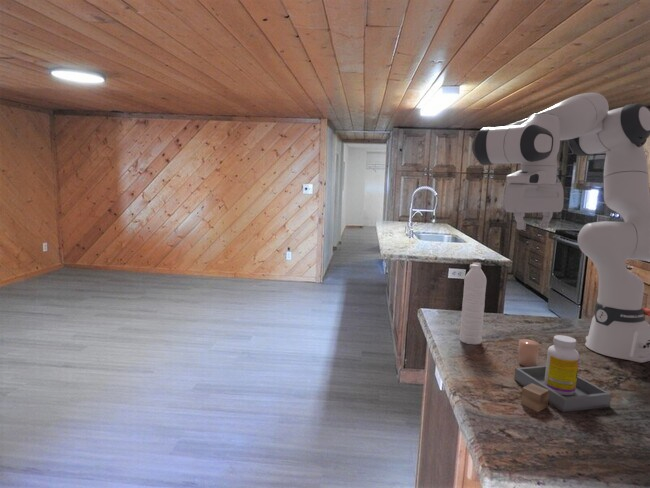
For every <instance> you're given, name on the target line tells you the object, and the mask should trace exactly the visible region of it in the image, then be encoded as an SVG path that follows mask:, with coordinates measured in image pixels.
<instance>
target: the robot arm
mask: <svg viewBox="0 0 650 488" xmlns="http://www.w3.org/2000/svg"><path fill="white" fill-rule="evenodd" d="M609 108H610V106H609V102H608V100H607V98H606V97H605V96H604V95H602V94H601V93H600V92H599V93H598V92H585V93H579V94H577V95H573V96H571V97H568V98H566V99H564V100H562V101H560V102H557V103H556V104H553V105H552V106H549V107H548V108H546V109H543V110H542V111H541V110H540V111H539V112H537V113H533V114H530V115H529V116H528V117H527V118H523V119H521V120H518V121H515V122H513V123H509V124H507V125H504V126H495V127H494V126H487V127H486V126H485V127H482V128H481V129H480V130H479V131H478V132H477V133H476V134H475V136H474V138H473V140H472V144H471V151H472V154H473V156H474V158H475V160H477V161H478V162H479V163H480V164H481V165H483V166H491V165H492V166H493V165H501V164H502V165H503V164H504V165H505V164H506V165H507V164H510V165H511V164H512V165H513V164H520V169H519V170H517V171H514V172H512V173H510V174H507V175H506V179H505V180H506V183H507V184H508V185H506V187H505V192H504V199H503V200H504V201H503V207H504V210H505V213H506V212H507V213H514V214H513V215H514V219H515V222H516V226H515V227H516V229H517V230H519V231H520V230H521V231H524V230H526V229H527V227H526V226H527V222H525V221H524V218H525V214H526V213H542V219H541V221H539V224H538V228H539V229H543V230H545V229H548V228H549V223H550V222H551V220H552V218H553V215H554V214H553V213H561V212H562V210H563V209H564V202H565V201H564V200H565V199H564V198H565V196H564V195H565V194H564V193H565V191H564V187H563V184H562V183H563V182H561V179H560V178H558V177H557V173H558V160H557V159H558V154H559V151H560V147H561V146H560V145H561V141H567V146H568V148H569V149H570V151H571V152H572V153H573V154H575V155H576V156H578V157H588V156H592V155H594V154H598V153H599V154H600V153H604V152H605V157H604V158H605V159H604V165H603V201H604V204H605V205H606V207H607V208H608V209H610V210H612V211H614V212H616V213H617V214H619V215H620V216H621V218H622V220H623V221H611V220H604V221H603V220H602V221H594V222H587V223H586V224H584V225H583V226H582V228H581V229H580V231H579V232H578V235H577V245H578V247H579V249H580V251H581V252H582V253H583V255H584V256H586V257H588V259H590V261H591V262H592V263H593V265H594V268H595V269H596V271H597V277H598V285H597V286H598V289H597V290H598V291H597V298H596V299H597V300H596V301H595V303H594V307H593V308H594V309H593V314H594V315H593V317H592V319H591V323H590V327H589V332H588V335H586V336H585V344H584V345H585V346H586V348H588V349H589V350H591V351H593V352H595V353H598V354H600V355H603V356H607V357H610V358H616V359H621V360H627V361H631V362H635V363H647V362H650V324H649V323H648V322H647V321H646V318H645V316H646V317H647V316H648V317H650V308H647V307H645V308H643V299H644V292H645V283H644V281H643V280H642V278H641V277H640V276H639V275H637V274H636V273H634V272H632V271H630V270H628V268H627V260H629V261H631V260H632V261H648V262H650V183H649V182H650V180H649V166H648V160H647V155H646V151H645V149H644V145H645V144H646V142H647V139H648V138H649V137H650V108H649V107H648V106H646V105H645V104H643V103H641V102H639V103H638V102H637V103H629V104H625V105H624V106H622V107H617V108H614V109H610V110H609Z"/></svg>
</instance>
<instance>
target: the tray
mask: <svg viewBox="0 0 650 488" xmlns="http://www.w3.org/2000/svg"><path fill="white" fill-rule="evenodd" d="M545 371H546V364H545V365H537V366H534V367H526V366H522V367H516V368H515V371H514V381H516V382H518V383H519V384H521V385H522V386H523V387H525V386H527V385H529V384H531V383H533V384H535V385H537V386H540V387H542V388H545V389H547V390H549V398H548V404H551V406H553V407H554V408H557V409H558V410H559V411H561V412H562V413H571V412H577V411H585V410H592V409H594V410H595V409H600V408H608V407H611V400H612V399H611V398H612V393H611V392H609V391H607V390H605V389H603V388H601V387H600V386H597V385H596V384H594V383H592V382H590V381H588V380H587V379H585V378H583V377H581V376H579V375H578V374H577V382H576V390H575V393H574V394H573V395H560V394H559V393H557V392H556V391H554V390H552V389H551V388H549V387H548V386H546V385H545V384H544V380H545Z"/></svg>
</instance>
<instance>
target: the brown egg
mask: <svg viewBox="0 0 650 488" xmlns="http://www.w3.org/2000/svg"><path fill="white" fill-rule="evenodd" d="M539 347H540V343H539V342H537V341H535V340H531V339H527V338H524V339H519V341H518V349H517V360H516V361H517V364H519V365H521V366H522V367H534V366H538V359H539V350H540V348H539Z"/></svg>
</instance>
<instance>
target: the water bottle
mask: <svg viewBox="0 0 650 488" xmlns="http://www.w3.org/2000/svg"><path fill="white" fill-rule="evenodd" d="M481 264H482V263H480V262H472V264H469V270H468V271H467V273H466V274H465V275H464V279H463V281H464V282H463V283H464V284H463V294H462V295H463V296H462V305H461V307H462V308H461V317H460V318H461V319H460V330H459V331H460V332H459V341H460V342H462V343H463V344H467V345H481V344H482V340H483V327H484V315H485V303H486V302H485V301H486V292H487V290H486V289H487V277H486V274H485V273H484V271H483V270H482V265H481Z"/></svg>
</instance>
